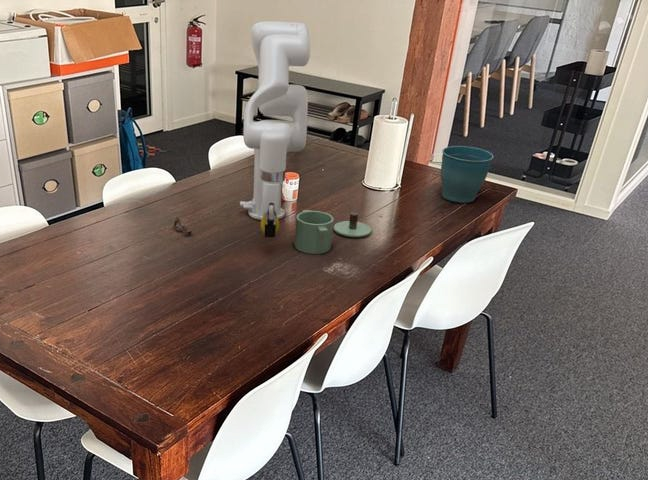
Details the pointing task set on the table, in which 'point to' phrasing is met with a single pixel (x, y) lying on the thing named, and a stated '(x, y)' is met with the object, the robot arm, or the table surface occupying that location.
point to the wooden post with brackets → (188, 232)
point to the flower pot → (463, 172)
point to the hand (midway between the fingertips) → (269, 231)
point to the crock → (313, 232)
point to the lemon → (265, 223)
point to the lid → (352, 227)
